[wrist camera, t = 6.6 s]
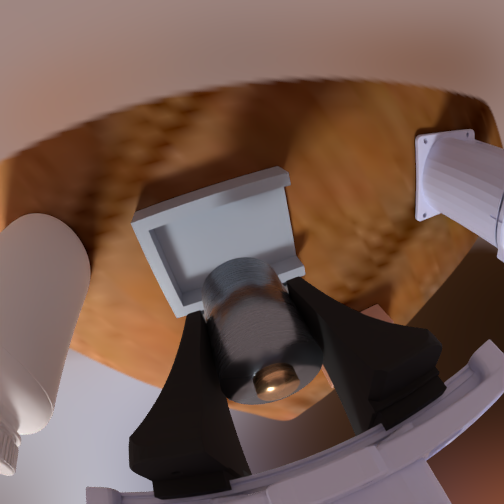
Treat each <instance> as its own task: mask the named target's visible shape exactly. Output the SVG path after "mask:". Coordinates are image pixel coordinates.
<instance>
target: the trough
mask: <svg viewBox="0 0 504 504" xmlns="http://www.w3.org/2000/svg"><path fill="white" fill-rule="evenodd" d="M289 185H291V183H290V178H289V172H287V171H285V170H284V169H282V168H280V167H279V166H276V167H272V168H269V169H265V170H261V171H258V172H254V173H251V174H247V175H244V176H240V177H237V178H234V179H230V180H227V181H224V182H221V183H217V184H214V185H211V186H208V187H205V188H202V189H199V190H196V191H193V192H190V193H187V194H184V195H181V196H178V197H175V198H172V199H169V200H166V201H163V202H161V203H158V204H155V205H152V206H150V207H147V208H144V209H142V210H139V211H136V212H135V213H134V216H133V219H132V222H131V225H132V227H133V229H134V231H135V234H136V236H137V238H138V241H139V243H140V245H141V247H142V249H143V252H144V254H145V256H146V258H147V260H148V262H149V264H150V266H151V268H152V271H153V273H154V275H155V277H156V279H157V281H158V283H159V285H160V287H161V289H162V291H163V293H164V295H165V297H166V299H167V300H168V302H169V304H170V306H171V308H172V310H173V312H174V314H175V316H176V317H177V318H179V317H183V316H186V315H188V314H189V313H192V312H196V311H199V310H204V308H203V302H202V296H201V292H202V287H203V284H204V281H205V279H206V278H207V276H208V275H209V274H210V273H211V272H212V271H213V270H214V269H215V268H216V267H217V266H219V265H220V264H222V263H224V262H226V261H229V260H231V259H235V258H241V257H252V258H257V259H260V260H263V261H264V262H266V263H268V264H269V265H270V266H271V267H272V268H273V269H274V270H275V272H276V274H277V275H278V277H279V279H280V280H281V282H282V283H284V282H286V281H287V280H290V279H292V278H295V277H298V276H299V277H301V276H303V275H305V269H304V265H303V264H302V262H301V261H300V260H299V259H298V257H297V256H296V252H295V246H294V240H293V234H292V229H291V223H290V217H289V212H288V206H287V201H286V196H285V191H284V187H285V186H289Z"/></svg>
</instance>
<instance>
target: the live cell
mask: <svg viewBox="0 0 504 504" xmlns="http://www.w3.org/2000/svg"><path fill="white" fill-rule="evenodd" d="M201 296H202V302H203V308H204V313H205V318H206V323H207V328H208V333H209V338H210V343H211V348H212V352H213V357H214V361H215V366H216V370H217V375H218V379H219V384H220V388H221V391H222V393H223V394H224V395H225V396H226V397H227V398H228V399H230V400H232V401H234V402H237V403H241V404H250V405H253V404H265V403H270V402H274V401H277V400H280V399H283V398H286V397H288V396H290V395H292V394H294V393H296V392H298V391H299V390H301V389H302V388H304V387H305V386H306V385H307V384H309V383H310V382H311V381H312V380H313V379H314V378H315V376H316V375H317V374H318V372H319V371H320V369H321V367H322V364H323V358H324V357H323V353H322V350H321V348H320V347H319V345H318V343H317V342H316V340H315V338H314V336H313V335H312V333H311V331H310V330H309V328H308V326H307V324H306V323H305V321H304V319H303V318H302V316H301V314H300V312H299V311H298V309H297V307H296V306H295V304H294V302H293V301H292V299H291V297H290V296H289V294H288V292H287V290H286V289H285V287H284V285H283V284H282V282H281V280H280V279H279V277H278V275H277V274H276V272H275V270H274V269H273V268H272V267H271V266H270V265H269V264H268V263H266V262H264V261H263V260H260V259H257V258H252V257H241V258H235V259H231V260H229V261H226V262H224V263H222V264H220V265H219V266H217V267H216V268H215V269H214V270H213V271H212V272H211V273H210V274H209V275H208V276H207V278H206V279H205V281H204V284H203V287H202V292H201Z"/></svg>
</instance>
